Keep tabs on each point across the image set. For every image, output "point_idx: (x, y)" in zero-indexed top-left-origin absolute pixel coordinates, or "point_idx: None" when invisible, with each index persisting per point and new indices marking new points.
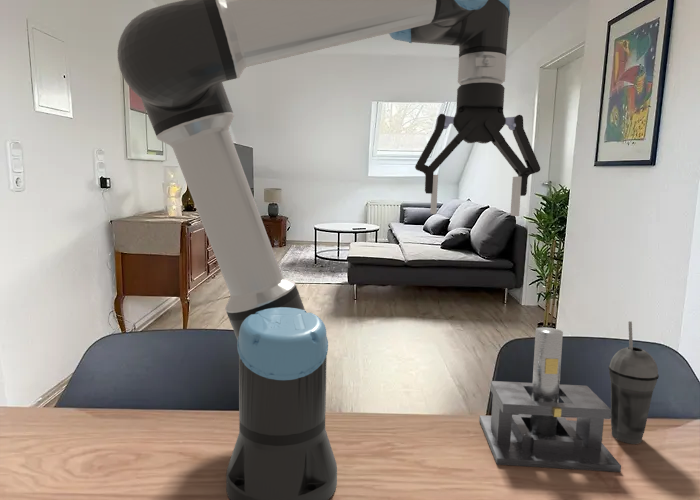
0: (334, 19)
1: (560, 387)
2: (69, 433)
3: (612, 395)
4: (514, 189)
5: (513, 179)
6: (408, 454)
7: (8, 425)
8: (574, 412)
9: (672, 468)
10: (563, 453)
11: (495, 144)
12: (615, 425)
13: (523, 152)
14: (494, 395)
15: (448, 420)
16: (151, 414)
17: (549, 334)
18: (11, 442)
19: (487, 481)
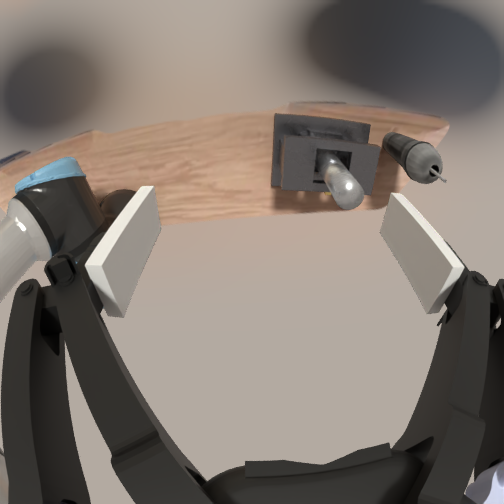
0: None
1: (353, 151)
2: (12, 195)
3: (397, 150)
4: (417, 265)
5: (443, 270)
6: (203, 176)
7: None
8: None
9: (393, 183)
10: None
11: (430, 424)
12: (386, 147)
13: (494, 365)
14: (283, 154)
15: (243, 115)
16: (26, 162)
17: (343, 207)
18: (3, 209)
19: (258, 203)
